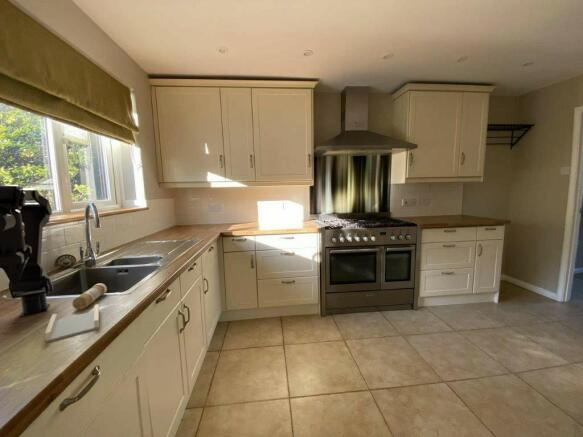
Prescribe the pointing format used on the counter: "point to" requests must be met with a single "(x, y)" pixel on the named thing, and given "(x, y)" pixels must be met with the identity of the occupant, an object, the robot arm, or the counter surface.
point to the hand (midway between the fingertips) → (15, 284)
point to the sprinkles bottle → (89, 296)
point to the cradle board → (72, 325)
